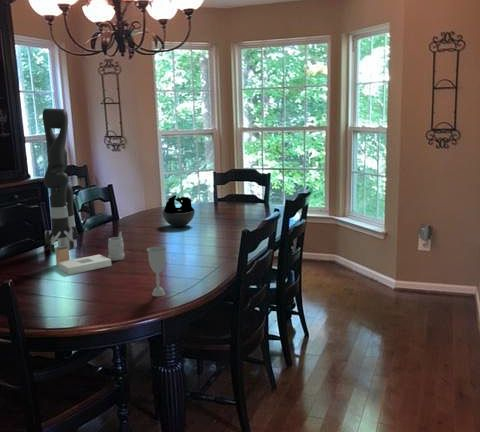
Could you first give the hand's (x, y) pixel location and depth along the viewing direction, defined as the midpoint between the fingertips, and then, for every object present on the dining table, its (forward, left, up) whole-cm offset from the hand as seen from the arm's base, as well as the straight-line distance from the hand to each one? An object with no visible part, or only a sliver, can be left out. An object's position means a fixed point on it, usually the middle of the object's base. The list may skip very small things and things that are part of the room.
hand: (62, 250), depth 238 cm
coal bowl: (-33, +86, -7) cm, 93 cm away
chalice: (+65, +12, -7) cm, 66 cm away
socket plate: (+11, +6, -7) cm, 14 cm away
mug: (+6, +25, -7) cm, 27 cm away
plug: (0, 0, -7) cm, 7 cm away
